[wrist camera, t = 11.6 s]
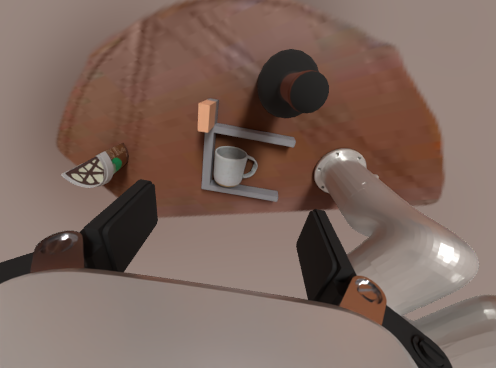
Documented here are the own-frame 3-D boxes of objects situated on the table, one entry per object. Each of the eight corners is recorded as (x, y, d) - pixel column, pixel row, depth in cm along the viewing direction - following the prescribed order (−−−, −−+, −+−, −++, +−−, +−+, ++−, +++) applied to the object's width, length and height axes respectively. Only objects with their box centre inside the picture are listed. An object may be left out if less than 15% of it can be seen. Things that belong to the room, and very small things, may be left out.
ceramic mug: (215, 172, 51) (210, 187, 44) (218, 143, 47) (212, 155, 40) (254, 178, 51) (254, 194, 45) (260, 150, 47) (261, 163, 41)
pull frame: (299, 115, 42) (309, 124, 35) (276, 195, 53) (279, 215, 45) (209, 98, 41) (198, 103, 34) (204, 183, 52) (194, 201, 45)
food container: (109, 177, 53) (80, 196, 44) (93, 158, 50) (58, 175, 42) (143, 161, 50) (119, 178, 41) (127, 140, 47) (98, 154, 39)
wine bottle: (295, 60, 37) (381, 24, 11) (291, 101, 41) (349, 144, 15) (258, 61, 38) (257, 26, 12) (257, 101, 42) (255, 143, 16)
